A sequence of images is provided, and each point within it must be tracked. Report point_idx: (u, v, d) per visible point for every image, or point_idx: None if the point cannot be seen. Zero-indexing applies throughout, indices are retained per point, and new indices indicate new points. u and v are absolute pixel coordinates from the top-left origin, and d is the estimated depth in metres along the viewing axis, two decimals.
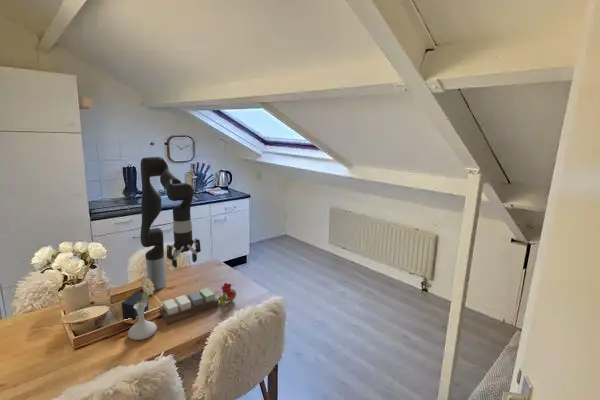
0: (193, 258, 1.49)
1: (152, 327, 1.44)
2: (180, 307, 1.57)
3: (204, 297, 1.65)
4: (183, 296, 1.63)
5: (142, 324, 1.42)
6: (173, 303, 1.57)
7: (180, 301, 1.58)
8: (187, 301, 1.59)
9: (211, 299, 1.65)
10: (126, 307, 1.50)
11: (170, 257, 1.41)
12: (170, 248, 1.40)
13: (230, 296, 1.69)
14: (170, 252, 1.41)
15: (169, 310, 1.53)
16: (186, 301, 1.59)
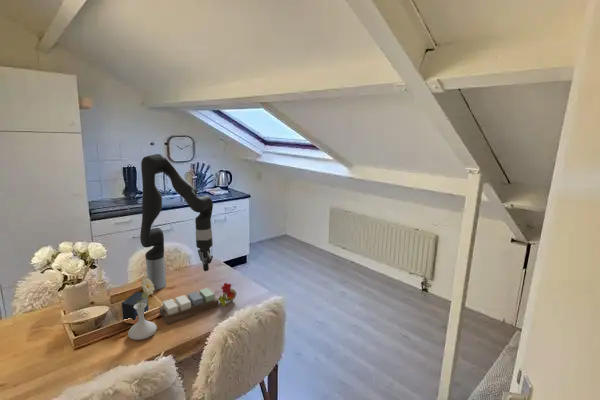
0: None
1: (152, 327, 1.44)
2: (180, 307, 1.57)
3: (204, 297, 1.65)
4: (183, 296, 1.63)
5: (142, 324, 1.42)
6: (173, 303, 1.57)
7: (180, 301, 1.58)
8: (187, 301, 1.59)
9: (211, 299, 1.65)
10: (126, 307, 1.50)
11: None
12: None
13: (230, 296, 1.69)
14: None
15: (169, 310, 1.53)
16: (186, 301, 1.59)
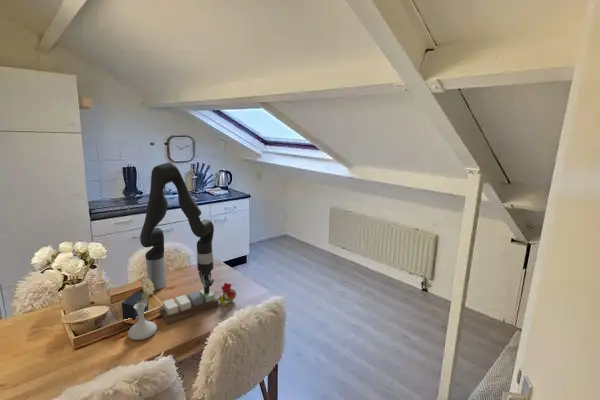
0: None
1: (152, 327, 1.44)
2: (180, 307, 1.57)
3: (204, 298, 1.65)
4: (183, 296, 1.63)
5: (142, 324, 1.42)
6: (173, 303, 1.57)
7: (180, 301, 1.58)
8: (187, 301, 1.59)
9: (211, 300, 1.65)
10: (126, 307, 1.50)
11: None
12: None
13: (230, 296, 1.69)
14: None
15: (169, 310, 1.53)
16: (186, 301, 1.59)
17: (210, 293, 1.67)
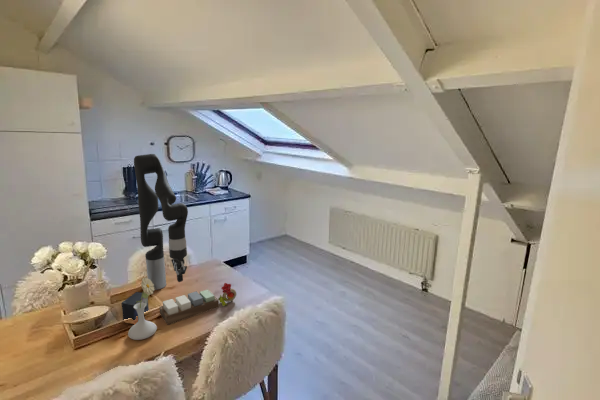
0: None
1: (152, 327, 1.44)
2: (180, 307, 1.57)
3: (204, 299, 1.65)
4: (183, 296, 1.63)
5: (142, 324, 1.42)
6: (173, 303, 1.57)
7: (180, 301, 1.58)
8: (187, 301, 1.59)
9: None
10: (126, 307, 1.50)
11: None
12: None
13: (230, 296, 1.69)
14: None
15: (169, 310, 1.53)
16: (186, 301, 1.59)
17: (210, 294, 1.67)
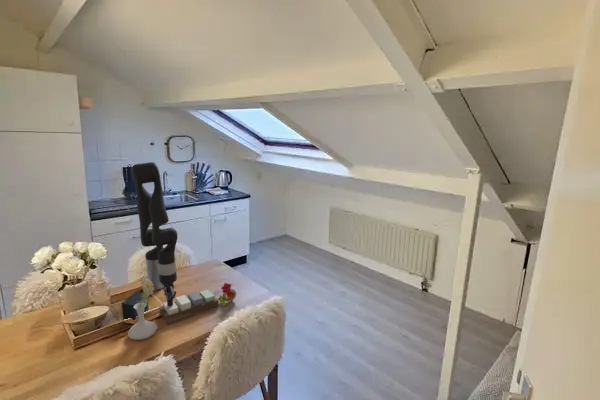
0: None
1: (152, 327, 1.44)
2: (180, 307, 1.57)
3: (204, 299, 1.65)
4: (183, 296, 1.63)
5: (142, 324, 1.42)
6: (173, 304, 1.57)
7: (180, 301, 1.58)
8: (187, 301, 1.59)
9: None
10: (126, 307, 1.50)
11: None
12: None
13: (230, 296, 1.69)
14: None
15: (169, 311, 1.53)
16: (186, 301, 1.59)
17: (210, 294, 1.67)
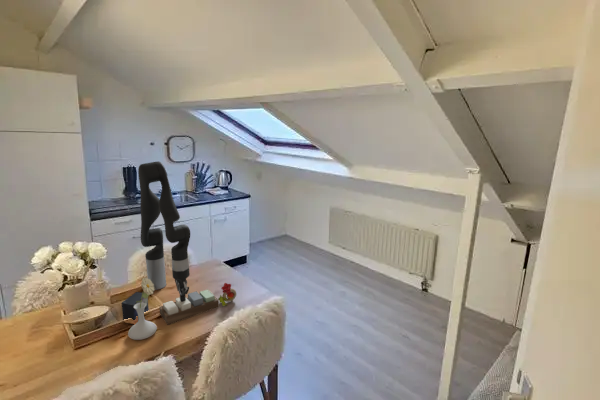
0: None
1: (152, 327, 1.44)
2: (180, 308, 1.58)
3: (204, 299, 1.65)
4: None
5: (142, 324, 1.42)
6: (173, 305, 1.57)
7: (180, 302, 1.59)
8: (187, 302, 1.59)
9: None
10: (126, 307, 1.50)
11: None
12: None
13: (230, 296, 1.69)
14: None
15: (169, 312, 1.53)
16: (186, 302, 1.59)
17: (210, 294, 1.67)
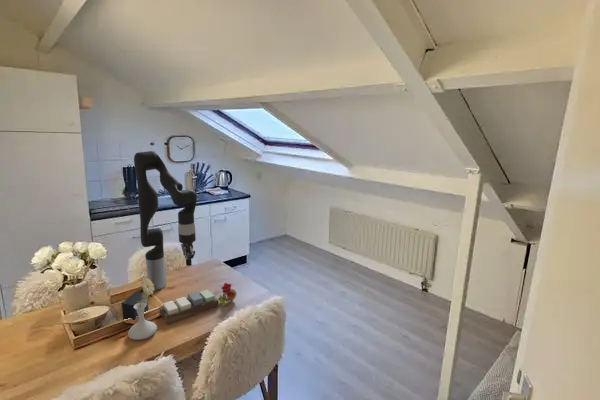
0: None
1: (152, 327, 1.44)
2: (180, 309, 1.58)
3: (204, 299, 1.65)
4: (183, 298, 1.63)
5: (142, 324, 1.42)
6: (173, 305, 1.57)
7: (180, 303, 1.59)
8: (187, 303, 1.59)
9: None
10: (126, 307, 1.50)
11: None
12: None
13: (230, 296, 1.69)
14: None
15: (169, 312, 1.53)
16: (186, 303, 1.59)
17: (210, 294, 1.67)
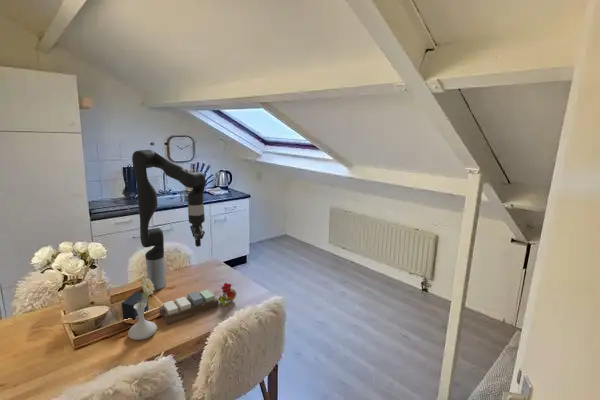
0: None
1: (152, 327, 1.44)
2: (180, 309, 1.58)
3: (204, 299, 1.65)
4: (183, 298, 1.63)
5: (142, 324, 1.42)
6: (173, 305, 1.57)
7: (180, 303, 1.59)
8: (187, 303, 1.59)
9: None
10: (126, 307, 1.50)
11: None
12: None
13: (230, 296, 1.69)
14: None
15: (169, 312, 1.53)
16: (186, 303, 1.59)
17: (210, 294, 1.67)
